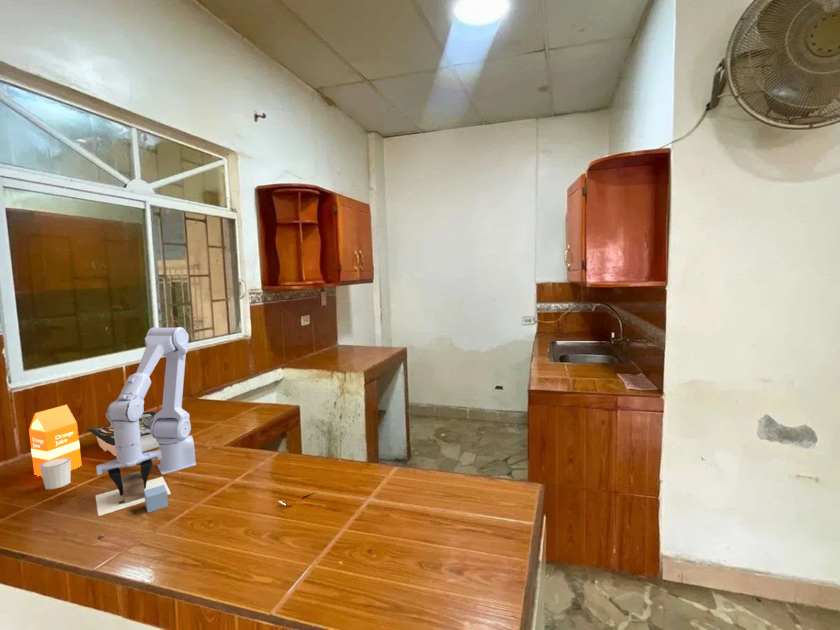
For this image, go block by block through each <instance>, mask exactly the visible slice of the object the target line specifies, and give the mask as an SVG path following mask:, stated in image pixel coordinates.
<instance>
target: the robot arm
mask: <svg viewBox="0 0 840 630" xmlns="http://www.w3.org/2000/svg"><path fill="white" fill-rule="evenodd" d="M144 344H145V346H146V347H145V349H144V352H143V354H142V357H141V359H140V362H139V365H138V367H137V369H136V372H135V373H133V374H131V375H129V376H128V378H127V380H126V382H125V383H124V386H123V387H122V389H121V392H120V393H119V396H118V397H117V399H115V400H114V401H113V402H111V403H110V404H109V406H107V410H106V413H105V417H106V419H107V420H108V421H109V424H111V427H112V428H114V437H115V447H116V457H115V458H116V459H113V460H110V461H107V462H105V463H100V464H97V465H96V466H95V467H96V475H97V476H101V475H103V473H107V472H108V476H109V478H110V479H111V480H112V481H113V483H114V484H115V486H116V487H117V489H118V490H119V493H120V496H122V495H123V489H122V483H121V476H122V473H121V469H123V468H128V467H133V466H136V465H138V464H140V465H139V466H140V474H141V476H142V479H143V481H144V489H146V482H147V481H148V478H149V474H150V473H151V470H152V468H153V461H154V460H159V461H160V462H159V463H160V464H159V463H158V464H157V468H158V470H159V472H160V475H165V474H169V473H173V472H178V471H180V470H183V469H187V468H190V467H195V466H196V465H197V463H196V451H195V442H194V438H193V435H190V433H191V430H192V425H191V421H190V413H189V412H188V411H186V410H185V409H183V408H182V407H183V397H184V396H183V393H184V380H185V369H186V368H185V367H186V358H187V357H186V356H187V355H186V354H188V350H189V349H188V347H189V333H188V332H187V330H186V329H185V328H184V327H182V326H178V327H155V326H154V327H150V328H149V330H148V331H147V333H146V336H145V338H144ZM162 356H164V357H165V360H166V361H165V372H164V383H163V391H162V392H163V395H162V404H161V405H162V406H161V409H160V410H159V411H157V413H156V412H155V413H156V414H155V415H154V421H153V423H152V426H151V430H150V431H151V435H152V437H153V438H154V439H156V442H159V447H158V450H153V451H145V452H142V448H141V438H140V427H139V418H140V417H141V416H142V414H143V413H144V412H145V411H144V408H145V407H144V404H145V400H144V399H145V398H146V396H147V393H148V392H149V391H148V390H149V389H150V387H151V385H152V380H151V378H150V376H151V375H152V373H153V371H154V370H155V367H156V366H157V365H158V363H159V361H160V359H161V358H162ZM166 418H176V419H166Z"/></svg>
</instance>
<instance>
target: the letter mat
mask: <svg viewBox="0 0 840 630" xmlns="http://www.w3.org/2000/svg"><path fill="white" fill-rule="evenodd" d="M162 485H164V486H165V488H166V490H167V496H168V495H172V493H171V490H170V488H169V487H168V484H167V483H166V481H165V478H164V477H163V476H160V477H156V478H153V479H149V480H147V482H146V489H144V491H145V490H148V489H151V488H155V487H158V486H162ZM95 502H96V503H95V504H96V510H97V516H98V517H99V516H104V515H106V514H110V513H113V512H116V511H119V510H123V509H125V508H129V507H132V506H136V505H138V504H142V503H145V498H141V499H138V500H135V501H131V502H128V503H125V502H124V498H123V495H122V496H120V493H119V490H118V488H116V489H114V490H111V491H107V492H103V493H99V494H96V495H95Z"/></svg>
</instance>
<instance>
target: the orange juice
mask: <svg viewBox="0 0 840 630" xmlns="http://www.w3.org/2000/svg"><path fill="white" fill-rule="evenodd" d="M28 432H29V433H28V434H29V441H30V442H29V443H30V451H31V452H30V453H31V460H32V466H33V474H34V475H37V476H36V477H39V476H41V477H40V478H43V477H42V473H41V470H40V465H41V464H43V463H44V462H47V461H50V460H53V459H57V458H65V457H68V458H70V459H71V471H73V469H74V470H76V469H78V467H79V468H81V467H82V466H83V465H82V455H81V445H80V439H79V430H78V421H76V419H75V417H74V415H73V413H72V412H71V409H70V408H69V406H68V404H64V405H60V406H57V407H53V408H49V409H45V410H41V411H37V412H34V415H33V418H32V420H31V423H30V426H29V429H28ZM80 466H81V467H80Z"/></svg>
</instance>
